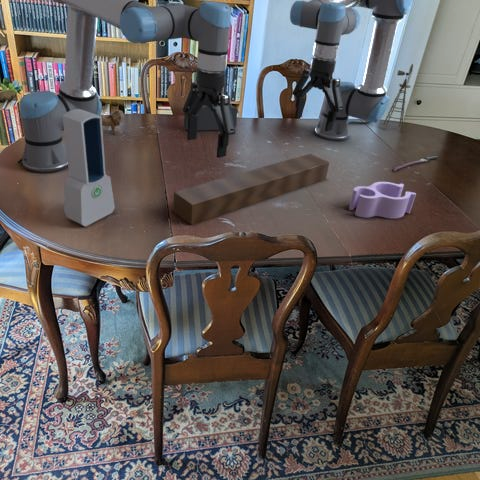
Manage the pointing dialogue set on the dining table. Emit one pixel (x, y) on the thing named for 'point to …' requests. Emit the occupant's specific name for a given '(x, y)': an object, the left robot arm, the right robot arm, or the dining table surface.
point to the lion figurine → (113, 120)
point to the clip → (381, 200)
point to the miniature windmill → (400, 99)
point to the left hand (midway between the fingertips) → (206, 147)
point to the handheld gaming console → (209, 119)
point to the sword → (415, 162)
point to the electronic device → (86, 169)
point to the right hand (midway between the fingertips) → (312, 123)
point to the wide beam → (248, 188)
